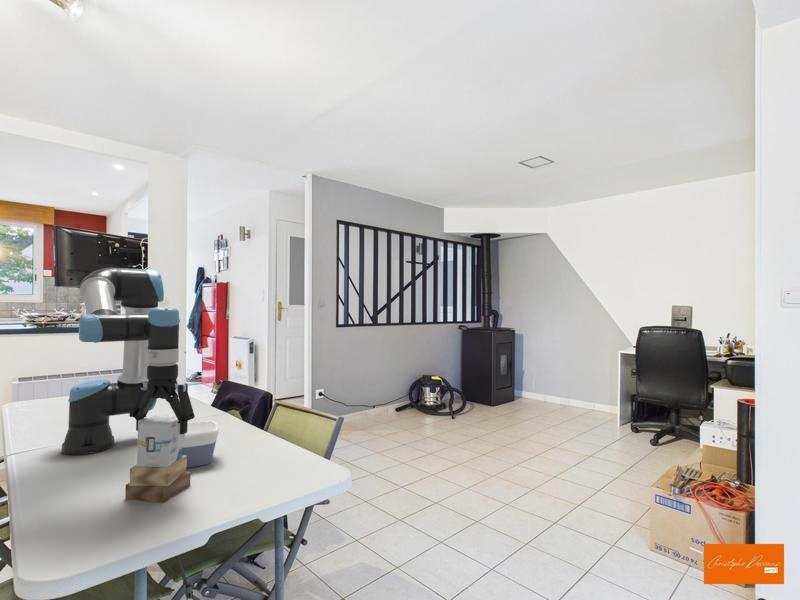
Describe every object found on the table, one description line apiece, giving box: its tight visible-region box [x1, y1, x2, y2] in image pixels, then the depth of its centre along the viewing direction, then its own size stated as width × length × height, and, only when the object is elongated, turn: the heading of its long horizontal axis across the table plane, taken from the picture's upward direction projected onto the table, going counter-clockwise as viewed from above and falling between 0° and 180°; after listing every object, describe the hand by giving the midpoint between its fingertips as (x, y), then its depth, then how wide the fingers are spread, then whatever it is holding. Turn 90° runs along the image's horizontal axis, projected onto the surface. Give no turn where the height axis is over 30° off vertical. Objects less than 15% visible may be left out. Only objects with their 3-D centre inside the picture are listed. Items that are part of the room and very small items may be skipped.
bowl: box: [183, 420, 220, 469], centre depth 139 cm, size 15×15×11 cm
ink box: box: [136, 415, 183, 467], centre depth 117 cm, size 8×8×12 cm
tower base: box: [124, 471, 192, 504], centre depth 116 cm, size 11×11×4 cm
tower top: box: [129, 455, 187, 486], centre depth 116 cm, size 10×10×4 cm
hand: (161, 444), depth 117 cm, fingers open, 11 cm apart
